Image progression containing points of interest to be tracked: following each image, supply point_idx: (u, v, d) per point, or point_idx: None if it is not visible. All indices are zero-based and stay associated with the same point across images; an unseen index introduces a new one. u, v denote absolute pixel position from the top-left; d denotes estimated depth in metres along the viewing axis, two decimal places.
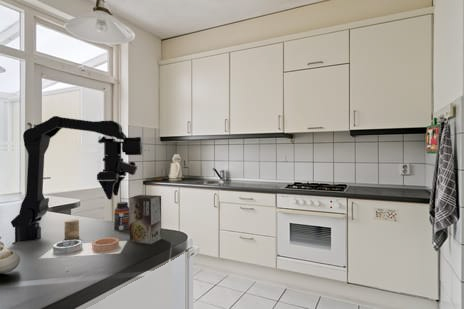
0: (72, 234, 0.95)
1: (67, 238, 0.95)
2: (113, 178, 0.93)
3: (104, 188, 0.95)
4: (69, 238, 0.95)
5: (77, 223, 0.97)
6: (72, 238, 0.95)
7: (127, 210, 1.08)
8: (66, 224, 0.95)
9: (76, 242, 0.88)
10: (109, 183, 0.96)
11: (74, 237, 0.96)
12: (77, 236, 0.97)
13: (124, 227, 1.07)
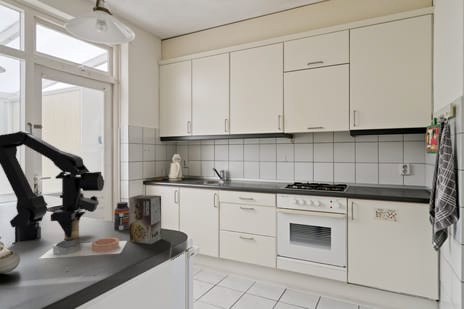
0: (72, 234, 0.95)
1: (67, 238, 0.95)
2: (68, 219, 0.88)
3: (62, 226, 0.93)
4: (69, 238, 0.95)
5: (77, 223, 0.97)
6: (72, 238, 0.95)
7: (127, 210, 1.08)
8: None
9: (76, 242, 0.88)
10: (68, 221, 0.94)
11: (74, 237, 0.96)
12: (77, 236, 0.97)
13: (124, 227, 1.07)
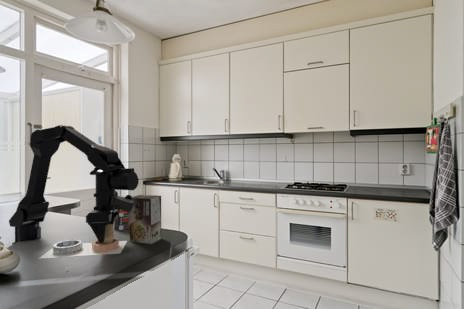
0: (107, 240, 0.85)
1: None
2: (105, 220, 0.78)
3: (95, 230, 0.81)
4: None
5: (112, 228, 0.87)
6: None
7: None
8: None
9: (76, 242, 0.88)
10: (101, 224, 0.81)
11: (109, 243, 0.86)
12: (112, 242, 0.87)
13: (124, 227, 1.07)
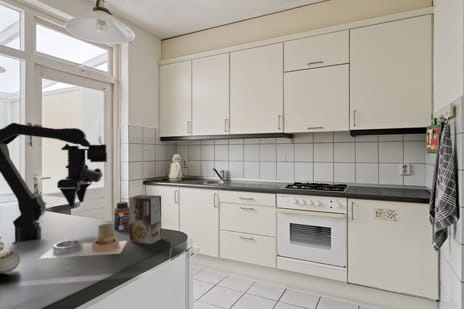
0: (106, 240, 0.85)
1: None
2: (74, 186, 0.93)
3: (66, 196, 0.96)
4: None
5: (112, 228, 0.87)
6: None
7: (127, 210, 1.08)
8: (100, 229, 0.85)
9: (76, 242, 0.88)
10: (71, 190, 0.96)
11: (109, 243, 0.86)
12: (112, 242, 0.87)
13: (123, 227, 1.07)
